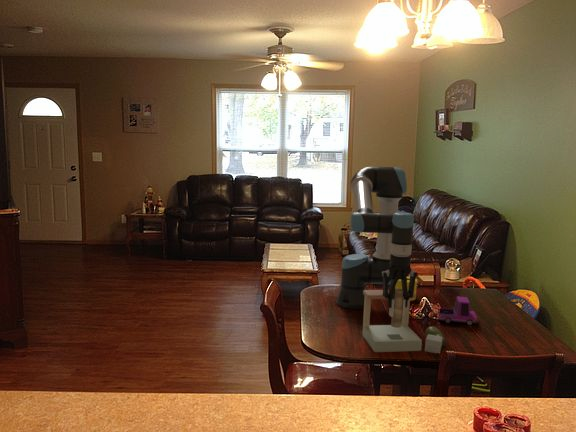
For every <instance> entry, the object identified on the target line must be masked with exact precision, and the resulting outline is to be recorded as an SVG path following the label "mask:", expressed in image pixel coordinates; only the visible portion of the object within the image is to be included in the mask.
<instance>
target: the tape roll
mask: <svg viewBox="0 0 576 432" xmlns="http://www.w3.org/2000/svg"><path fill="white" fill-rule="evenodd" d="M409 280H410V276H407V289H408V288H409ZM417 285H418V279H417V278H416V279H415V286H414V294H415V295H416V297H417V288H418V287H417ZM395 288H399V289H402V283H401V279H399V280H398V282H397V283H396V287H395ZM416 297H415V298H410V302H411V301H412V302H413V301H415V300H416Z"/></svg>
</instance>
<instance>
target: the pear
mask: <svg viewBox="0 0 576 432" xmlns="http://www.w3.org/2000/svg"><path fill="white" fill-rule="evenodd" d="M424 334H425V337H426V338H427V335H428V334H430V335H435V336H441V337H443V338H442V347H444V346H445V345H446V340H445V337H444V335H443V334H442V332H441V330H440V329H439V328H437V327H436V326H428V327H427V328H426V329H425V333H424Z"/></svg>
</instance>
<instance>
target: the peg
mask: <svg viewBox="0 0 576 432" xmlns="http://www.w3.org/2000/svg"><path fill="white" fill-rule="evenodd" d="M393 299H394V315H393V317H391V319H390V320H391V322H390V325H391V326H392V327H396V328H399V327H401V318H402V303H403V289H399V288H396V287H395V291H394V295H393Z"/></svg>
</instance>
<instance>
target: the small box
mask: <svg viewBox="0 0 576 432" xmlns="http://www.w3.org/2000/svg"><path fill="white" fill-rule="evenodd" d="M443 337H444V336H443ZM443 337H441V336H435V335H430V334H428V335H427V337H426V338H425V343H424V344H425V345H424V352H427V353H428V352H429V353H432V354H437V353H439V354H441V351H442V347H443V346H442V338H443Z"/></svg>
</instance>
